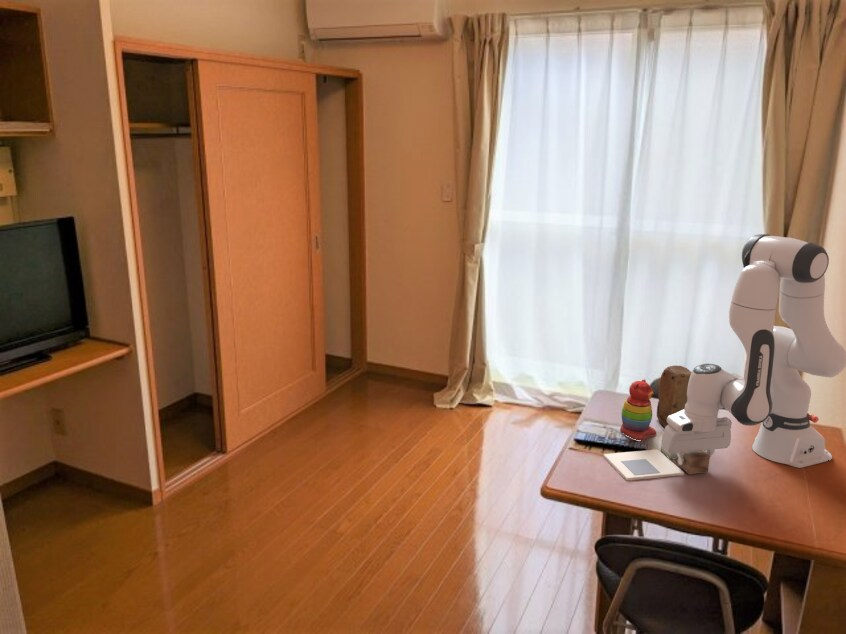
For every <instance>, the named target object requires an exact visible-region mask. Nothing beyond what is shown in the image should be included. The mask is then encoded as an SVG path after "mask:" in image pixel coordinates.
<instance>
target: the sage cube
mask: <svg viewBox="0 0 846 634" xmlns="http://www.w3.org/2000/svg"><path fill="white" fill-rule="evenodd" d="M660 447H661V448H660V452H661V453H662V454H663V455H665V454H666V455H667V456H668V457H669V458H668V457H667V456H666V455H665V456H666V457H667V458H668V459H670V458H672V459H678V456H677V454H676V453H671V454H669V453H668V452H666V451H665V450H664V449H663V447H662V445H660Z"/></svg>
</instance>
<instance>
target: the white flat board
mask: <svg viewBox="0 0 846 634" xmlns="http://www.w3.org/2000/svg"><path fill="white" fill-rule="evenodd" d="M602 456H603V459H605V460H606V461H607V463H609V464H610V466H612V468H614V469H615V471H617V472H618V473H619V475H621V477H623V478H624V480H625V481H627V482H628V481H637V480H638V481H639V480H647V479H656V478H658V479H659V478H666V477H669V478H670V477H675V476H677V477H678V476H684V475H685V472H684V471H683V470H682V468H681V467H678V466H677V465H676V464H675V463H674V462H673V461H672V460H671V459H670V458H668V457H667V456H666V455H665V454H664V453H663V452H662V451H661V450H659V449H649V450H646V449H645V450H636V451H635V450H634V451H625V452H613V453H603V455H602Z"/></svg>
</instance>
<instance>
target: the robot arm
mask: <svg viewBox="0 0 846 634" xmlns="http://www.w3.org/2000/svg"><path fill="white" fill-rule="evenodd" d="M743 245H744V246H743V248H742V250H741V251H742V252H741V261H742V266H743V269H742V270H741V271H740V274H739V275H738V278H737V280H736V283H735V286H734V289H733V293H732V296H731V301H730V307H729V311H728V313H729V316H728V318H729V320H728V322H729V325H730V328H731V329H732V331H733V332H734V334H735V335H736V336H737V338H738V339H739V341H740V342H741V343H742V347H744V350H745V353H746V367H745V375H744V378H743V377H742V376H740V375H738V374H736V373H731V372H729V371H727V370H726V369H725V370H724V369H723V368H722V367H721V366H720V365H718V364H714V363H702V364H699V365H696V366H695V367H694V368H693V369H692V371H691V372H692V373H691V375H690V379H689V383H688V388H687V402H686V405H685V409H683V410H681V411H679V412H677V413H675V414H672V415H670V416H668V417H667V423H668V425H667V426H666V427H665V426H664V429H663V433H662V437H661V445H662V447H663V449H664V450H665V451H666V452H668V453H669V454H671V453H676V454H677V456H678V457H679V458H677V462H678V463H679V464H680V465H686V459H685V458H684V457H683V456H682V455H684V452H692V451H704V452H705V453H706V454H708V455H709V456H710V458H712V456H713V454H714V453H715V450H721V449H729V447H730V445H731V442H732V431H731V430H732V423H733V422H732V420H731V419H730V418H729V417H726V416H724V417H718V416H719V411H720V410H721V409H725V410H726V411H727V412H729V413H730V414H731V415H732V416H733V417H734V418H735V420H737V422H738V423H739V424H741V425H743V426H748V427H749V426H750V427H751V426H756V425H759V424H760V426H759V429H758V433H757V435H756V436H755V438H754V442H753V444H752V446H751V448H752V450H753V451H754V452H755V454H757V455H759V456H760V457H762V458H764V459H767V460H769V461H772V462H774V463H775V462H776V463H779V464H786V465H788V466H791V467H794V468H799V469H802V468H806V467H809V466H813V465H816V464H821V463H825V462H829V461H832V460H833V456H832V453H830V452H829V450H827V449H826V440H825V437H824V436H823V435H822V433H820V432H819V431H817V429H815V428H814V427H813V426H812V425H811V422H812V423H813V424H817V423H818V422H819V417H818V416H816V415H815V414H810V413H808V412H809V407H810V403H811V402H810V401H811V399H812V391H811V387H810V386H809V384H808V383H807V382H806V381H805V380H804V379H803V378H802V376H801V374H800V372H801V373H802V372H803V373H806V374H809V375H811V376H816V377H822V378H823V377H824V378H834V377H836V376H839V374H840V373H842V372H843V370H845V368H846V349H845V348H844V346H843V345H842V344H841V343H840V342H838V340H837V339H836V338H835V337H834V335H833V334H832V332H831V330H830V329H829V326H828V324H827V322H826V318H825V288H826V287H825V286H826V277H825V274H826V271H827V270H828V266H829V261H830V259H829V255H828V252H827V250H826V249H825V248H824V247H822V246H821V245H819V244H816V243H815V242H807V241H804V240H802V239H798V238H794V237H790V236H789V237H786V236H777V235H771V234H767V233H766V234H764V233H763V234H761V233H760V234H755V235H753V236H751V237H750V238H749V239H748V240H747V241H746V242H745V243H744V244H743ZM778 300H779V302H778ZM777 305H778V315H779V316H780V318H781V320H782V321H783V322H784V323H785V324H786V325H787V326H788V327H785V326H780V325H779V326H778V325H774V324H775V315H776V310H777ZM799 371H800V372H799ZM661 445H660V446H661ZM831 459H832V460H831ZM828 460H829V461H828Z"/></svg>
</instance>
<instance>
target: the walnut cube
mask: <svg viewBox="0 0 846 634" xmlns="http://www.w3.org/2000/svg"><path fill="white" fill-rule="evenodd" d="M705 452H706V451H705V450H703V451H692V452H684V455H682V456H683V457H684V458H685V459H686V465H680V464H679V463H678V461H677V462H676V463H677V465H678V466H679V468H681V469H683V470H684V471H685V472H686V473H687V474H689V475H692V474H693V475H694V474H701V473H708V472H709V466H710V459H711V457H710V456H709V455H708V454H706V453H705ZM678 458H679V457H678ZM678 458H677V459H678Z"/></svg>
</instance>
